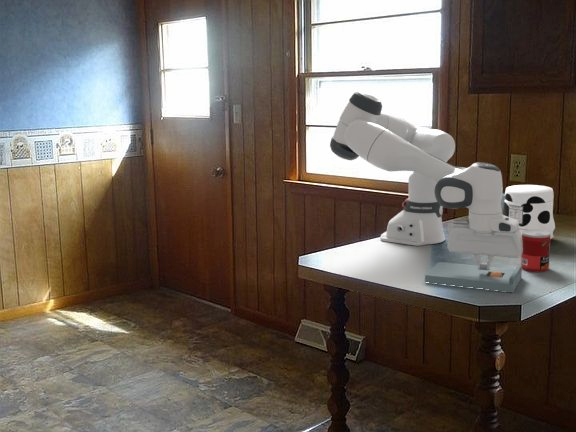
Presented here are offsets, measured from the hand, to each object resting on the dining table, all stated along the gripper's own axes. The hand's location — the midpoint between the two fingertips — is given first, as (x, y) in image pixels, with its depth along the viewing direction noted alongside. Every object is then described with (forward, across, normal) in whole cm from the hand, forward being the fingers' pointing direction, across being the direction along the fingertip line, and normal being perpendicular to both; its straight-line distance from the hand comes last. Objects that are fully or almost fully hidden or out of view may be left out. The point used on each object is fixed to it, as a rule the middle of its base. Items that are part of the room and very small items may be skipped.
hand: (483, 269), depth 193 cm
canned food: (+4, +11, +18) cm, 22 cm away
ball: (+2, +3, 0) cm, 4 cm away
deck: (+4, -3, 0) cm, 5 cm away
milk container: (+4, +4, +50) cm, 50 cm away
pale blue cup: (+4, -12, +68) cm, 69 cm away
